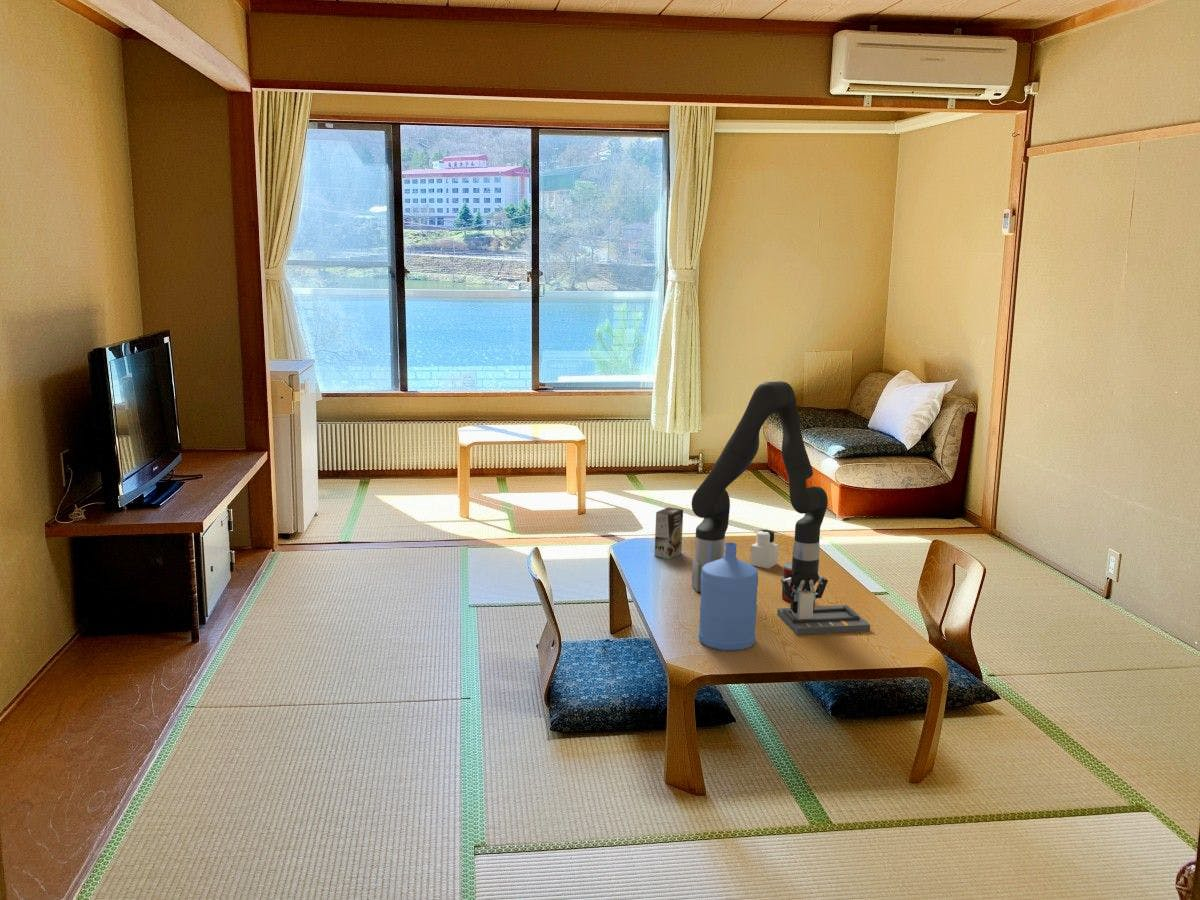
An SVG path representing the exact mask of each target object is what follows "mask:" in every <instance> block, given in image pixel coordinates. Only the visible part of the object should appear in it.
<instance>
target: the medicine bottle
mask: <svg viewBox="0 0 1200 900" xmlns="http://www.w3.org/2000/svg"><path fill="white" fill-rule="evenodd" d="M755 534H756V538H755V543H753V544H751V545H750V558H749V559H750V560H749V564H750V565H752V566H754V567H759V568H762V569H768V570H769V569H771V568H772V567H774V566H776V565H777V564H778V563H779V562H778V561H779V560H778V557H779V544H778V543H775V533H774V531H772V530H770V529H759V530H757V531H756V533H755Z"/></svg>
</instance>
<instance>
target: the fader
mask: <svg viewBox="0 0 1200 900" xmlns="http://www.w3.org/2000/svg"><path fill="white" fill-rule="evenodd" d="M797 601H798V608H797V613H794V612H793V611H792V614H793V615H794V616H795V617H796V618H797V619H798V620H799V619H813V604H814V593H813V592H810V591H809V590H806V589H805V590H802V591H801V593H799V595H798V600H797Z"/></svg>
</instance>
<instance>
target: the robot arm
mask: <svg viewBox="0 0 1200 900" xmlns="http://www.w3.org/2000/svg"><path fill="white" fill-rule="evenodd" d="M796 399H797V398H796V394H795V391H794V388H793V386H791V384H789V382H786V381H781V380H779V381H777V380H776V381H764V382H762V383H760V384H759V385H757V387H756V388H755V390H754V391H753V393H752V395H751V397H750V399H749V402H748V404H747V407H746V409H745V410H744V413H743V415H742V417H741V419H740V421H739V422H738V423H737V425H736V427H735V430H734V431H733V433H732V434H731V436H730V437H729V439H728V441H727V442H726V444H725V446H724V447H723V449H722V452H720V455H719V456H718V458H717V459H716V461H715V464H714V465H713V466H712V468H711V470H710V472H709V473H708V475H707V476H706V478H705V479H704V480H703V482H702V483H701V484H700V485H699V487H698V488H697V489H696V490H695V491H694V493H693V496H692V498H691V509H692V512H693V513H694V515H695V516H697V517H698V518H702V519H703V520H702V521H701V522H700V524H698V525H697V527H696V529H695V542H694V543H695V544H694V545H695V546H694V547H695V548H694V557H693V558H692V569H691V571H692V574H691V575H692V576H691V586H692V588H693V589H694V591H695V592H697V593H701V573H702V567H703V566H704V565H705V564H707V563H709V562H712V561H716V560H719V559H722V558H724V557H725V548H726V546H725V543H726V532H727V530H728V527H729V521H730V509H731V500H730V496H729V492H728V491H727V488H728V487H729V486H730V485H731V484H732V483H733V482H734V481H735V480H737V479H738V478H739V477H740V476H741V475H742V474H743V473H744V472H745V471H746V470H747V469H748V468H749V466H750V465H751V463H752V462H753V460H754V459H755V457H756V455H757V454H758V453H759V452H758V451H759V449H760V448H759V447H760V431H761V428H762V427H763V426H764V424H765V422H766V420H767V419H768V418H769V417H770V415H773V414H777V416H778V418H779V420H780V422H781V426H782V443H781V456H782V460H783V464H784V467H785V470H786V473H787V476H788V487H789V500H790V504H791V506H792V508H793V509H794V511H795V512H797V513H798V514H804V516H803V517H801V518H800V519H798V520H796V522H795V526H794V527H795V528H794V541H793V546H792V557H791V559H792V560H791V562H792V573H791V575H790V577H789V578H787V579H784V578H783V577H782V578H781V579H780V584H781V586H783V590H784V594H785V596H786V597H787V598H788V599H789V600H791V603H790V608H791V610H792V611H793V612H794V613H797V608H798V601H797V600H798V595H799V593H801V591H802V590H805V589H806V590H809V591H810V592H813V593H814V604H813V610H814V607H815V604H816V603H815V602H816V600H817V599H822V597H823V595H824V592H825V590H826V587H827V584H828V582H829V581H828V579H827V578H826V577H824V576H820V575H819V570H820V569H819V568H820V567H819V566H820V551H821V549H820V547H821V546H820V540H821V539H820V537H821V536H820V535H821V526H822V524H823V521H824V517H825V516H826V512H827V510H828V505H829V504H828V501H829V500H828V499H829V498H828V495H827V491H825V489H824V488H823V487H820V486H810V487H809V486H808V487H807V480H809V479H810V478H812V477H813V475H814V470H813V467H812V464H811V460H810V459H809V456H808V453H807V449H806V446H805V444H804V438H803V433H802V428H801V427H802V426H801V421H800V415H799V411H798V405H797V404H798V403H797V400H796ZM791 581H792V583H793V584H794V586H793V589H792V594H791V592H790V588H789V586H790V582H791ZM817 583H818V584H817ZM816 584H817V586H816V588H815V585H816Z"/></svg>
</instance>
